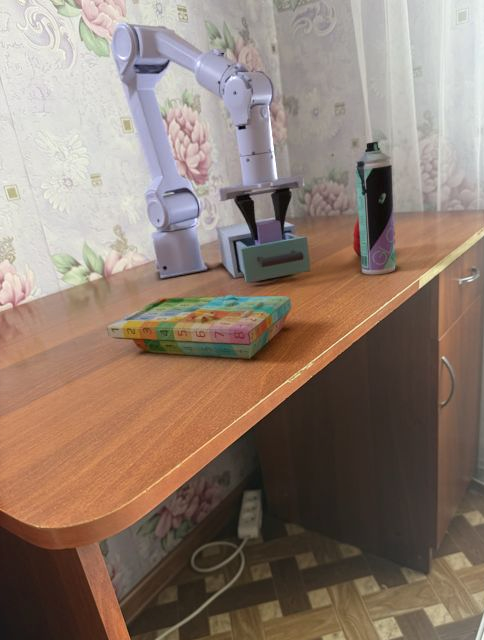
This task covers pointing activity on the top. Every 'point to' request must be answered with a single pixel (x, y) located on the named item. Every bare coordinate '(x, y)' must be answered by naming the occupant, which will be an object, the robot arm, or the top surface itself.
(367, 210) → the spray can
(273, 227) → the lavender toy cube
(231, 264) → the mini drawer cabinet
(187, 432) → the top surface
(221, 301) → the puzzle game
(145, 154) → the robot arm
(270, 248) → the open teal drawer
